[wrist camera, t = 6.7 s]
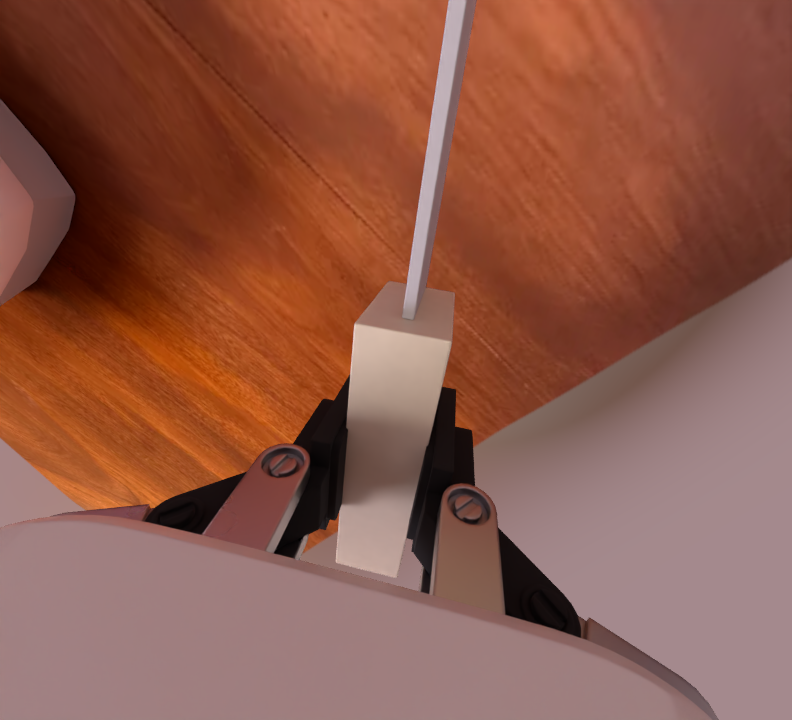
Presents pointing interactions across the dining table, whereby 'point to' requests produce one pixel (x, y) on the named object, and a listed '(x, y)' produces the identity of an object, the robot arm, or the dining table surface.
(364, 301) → the dining table surface
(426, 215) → the knife
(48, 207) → the bowl
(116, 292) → the dining table surface
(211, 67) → the dining table surface
